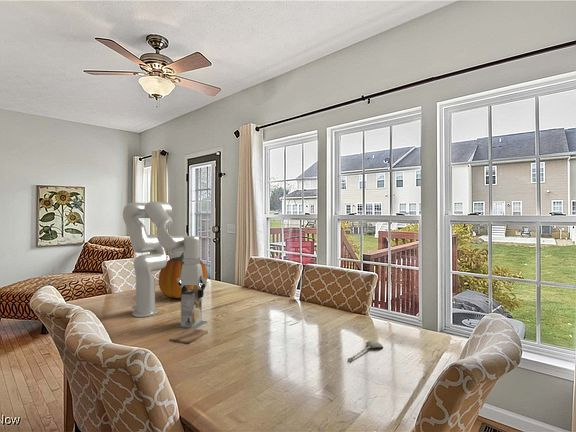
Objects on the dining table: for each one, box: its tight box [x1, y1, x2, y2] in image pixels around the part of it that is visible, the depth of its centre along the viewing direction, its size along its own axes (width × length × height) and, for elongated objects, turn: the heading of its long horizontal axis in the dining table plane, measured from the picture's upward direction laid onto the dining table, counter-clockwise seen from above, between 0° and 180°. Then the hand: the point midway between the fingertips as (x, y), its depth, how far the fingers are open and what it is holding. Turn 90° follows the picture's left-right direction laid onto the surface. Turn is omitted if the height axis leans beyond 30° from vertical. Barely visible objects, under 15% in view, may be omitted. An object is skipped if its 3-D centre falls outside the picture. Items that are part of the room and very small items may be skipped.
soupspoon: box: [347, 340, 384, 363], centre depth 122 cm, size 22×3×7 cm
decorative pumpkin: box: [158, 251, 208, 299], centre depth 204 cm, size 30×30×30 cm
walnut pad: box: [169, 328, 209, 345], centre depth 137 cm, size 10×13×1 cm
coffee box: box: [180, 289, 203, 327], centre depth 152 cm, size 9×6×16 cm
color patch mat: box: [175, 320, 208, 329], centre depth 152 cm, size 11×11×1 cm
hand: (192, 296), depth 152 cm, fingers open, 9 cm apart
